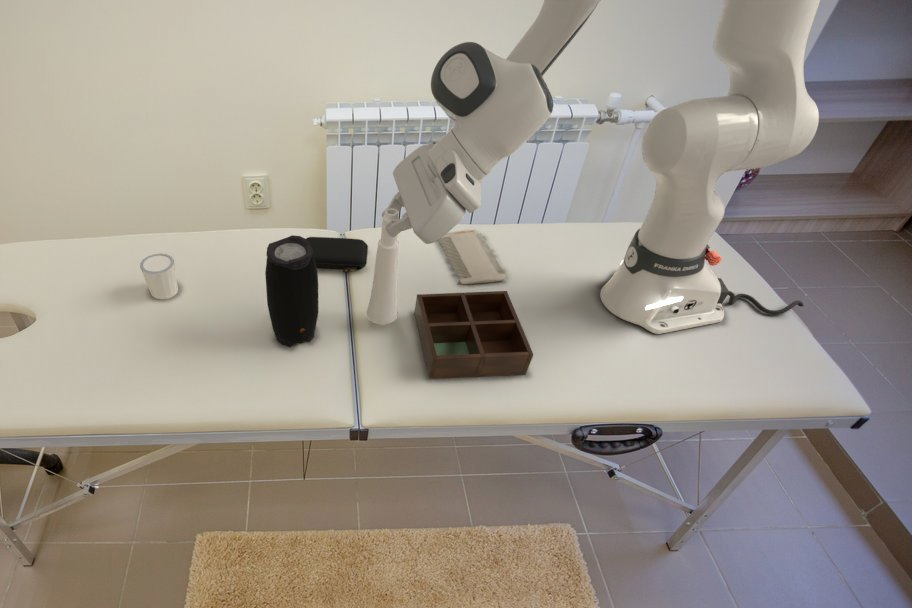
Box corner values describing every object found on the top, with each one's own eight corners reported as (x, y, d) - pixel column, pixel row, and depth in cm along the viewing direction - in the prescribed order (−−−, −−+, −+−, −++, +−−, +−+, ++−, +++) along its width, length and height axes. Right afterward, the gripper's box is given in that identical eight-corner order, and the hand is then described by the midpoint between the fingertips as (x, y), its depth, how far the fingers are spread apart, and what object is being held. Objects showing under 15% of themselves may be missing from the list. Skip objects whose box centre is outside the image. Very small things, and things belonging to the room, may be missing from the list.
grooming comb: (435, 235, 130) (435, 233, 129) (478, 231, 131) (478, 228, 130) (461, 286, 118) (462, 283, 118) (508, 281, 119) (508, 278, 118)
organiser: (500, 310, 113) (506, 290, 109) (525, 374, 102) (533, 354, 98) (413, 314, 113) (416, 294, 109) (429, 379, 102) (433, 359, 98)
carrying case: (296, 273, 122) (365, 277, 121) (296, 262, 120) (366, 265, 118) (302, 245, 129) (367, 248, 128) (302, 233, 127) (368, 236, 125)
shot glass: (159, 305, 116) (151, 278, 111) (141, 290, 119) (133, 262, 114) (187, 291, 119) (180, 263, 114) (169, 276, 122) (162, 248, 117)
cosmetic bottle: (379, 300, 113) (388, 198, 96) (404, 313, 110) (417, 210, 93) (360, 315, 110) (365, 212, 93) (384, 329, 107) (394, 225, 91)
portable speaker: (318, 349, 107) (317, 263, 92) (269, 349, 107) (259, 263, 92) (318, 318, 112) (317, 233, 98) (271, 319, 113) (263, 233, 98)
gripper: (427, 123, 93) (365, 183, 100) (458, 186, 80) (384, 250, 87) (449, 148, 97) (388, 204, 104) (483, 212, 83) (410, 272, 90)
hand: (386, 226), depth 95 cm, fingers closed on cosmetic bottle, 3 cm apart
